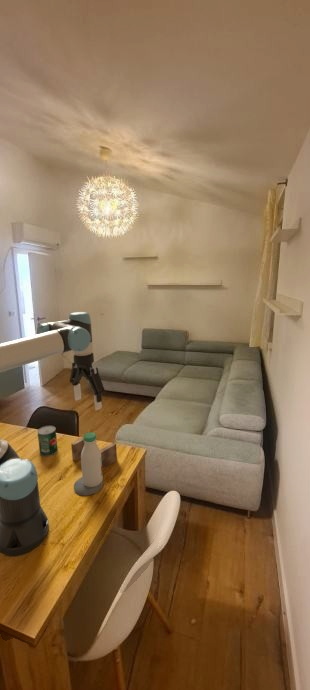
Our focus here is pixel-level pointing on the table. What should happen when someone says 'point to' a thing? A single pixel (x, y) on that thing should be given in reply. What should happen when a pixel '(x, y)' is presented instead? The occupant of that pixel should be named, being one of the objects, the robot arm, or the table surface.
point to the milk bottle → (91, 461)
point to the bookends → (106, 453)
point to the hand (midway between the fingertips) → (88, 404)
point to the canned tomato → (47, 440)
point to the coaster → (86, 488)
